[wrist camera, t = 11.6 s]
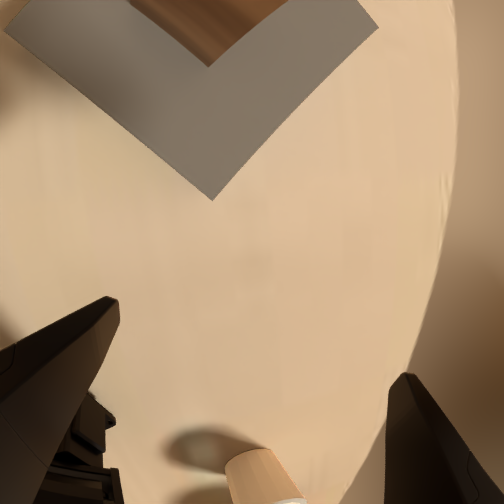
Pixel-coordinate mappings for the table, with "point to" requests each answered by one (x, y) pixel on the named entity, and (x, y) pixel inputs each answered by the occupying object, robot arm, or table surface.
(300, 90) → the plate
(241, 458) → the tan cylindrical piece
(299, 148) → the table surface
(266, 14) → the walnut block
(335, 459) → the table surface
